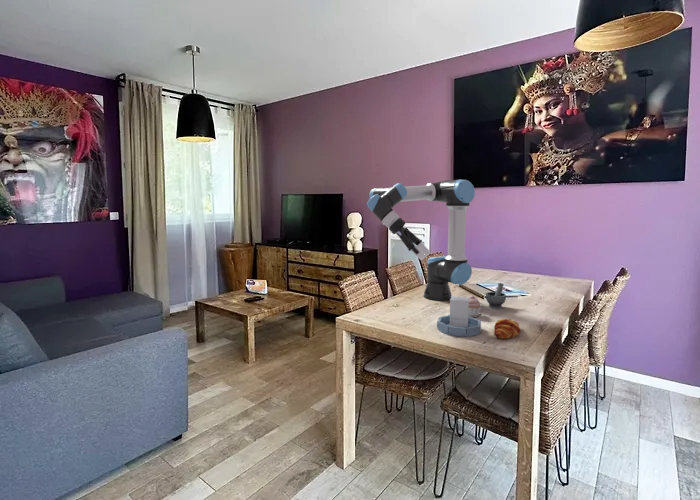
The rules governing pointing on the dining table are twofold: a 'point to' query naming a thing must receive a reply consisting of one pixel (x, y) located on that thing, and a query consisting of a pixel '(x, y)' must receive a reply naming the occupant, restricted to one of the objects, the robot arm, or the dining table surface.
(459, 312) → the supplement box
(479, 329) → the octagonal dish
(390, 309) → the dining table surface
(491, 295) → the mortar and pestle
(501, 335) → the croissant
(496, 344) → the dining table surface
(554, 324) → the dining table surface
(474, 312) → the cupcake
